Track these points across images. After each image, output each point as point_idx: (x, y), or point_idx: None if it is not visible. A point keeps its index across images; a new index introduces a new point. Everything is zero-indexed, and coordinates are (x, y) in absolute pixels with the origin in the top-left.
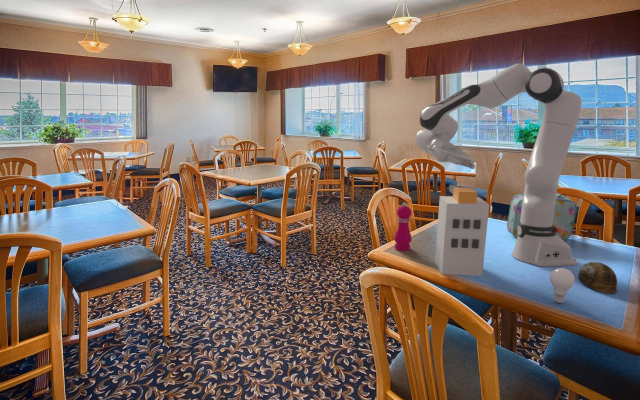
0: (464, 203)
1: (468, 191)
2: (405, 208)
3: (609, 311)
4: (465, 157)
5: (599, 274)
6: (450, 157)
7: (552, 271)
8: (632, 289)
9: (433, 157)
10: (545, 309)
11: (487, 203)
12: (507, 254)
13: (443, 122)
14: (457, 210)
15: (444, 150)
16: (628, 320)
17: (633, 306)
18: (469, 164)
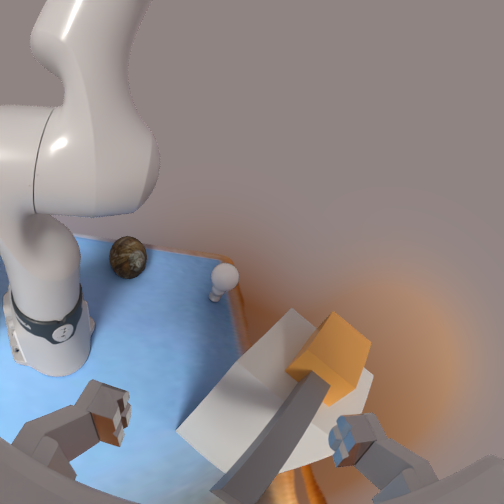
0: None
1: (349, 328)
2: None
3: (191, 263)
4: (74, 495)
5: (144, 250)
6: (412, 463)
7: (232, 280)
8: (110, 240)
9: None
10: (241, 307)
11: (288, 313)
12: (62, 385)
13: None
14: None
15: (487, 499)
16: (198, 254)
17: (160, 246)
18: (64, 447)
